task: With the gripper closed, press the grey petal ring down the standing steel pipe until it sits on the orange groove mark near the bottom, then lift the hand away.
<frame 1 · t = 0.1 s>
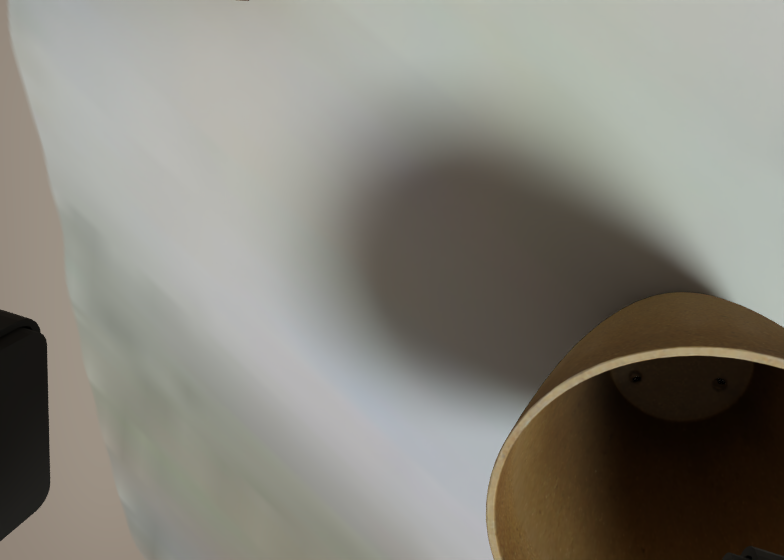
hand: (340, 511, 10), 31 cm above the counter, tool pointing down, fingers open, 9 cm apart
plant pot: (674, 351, 40), on the counter
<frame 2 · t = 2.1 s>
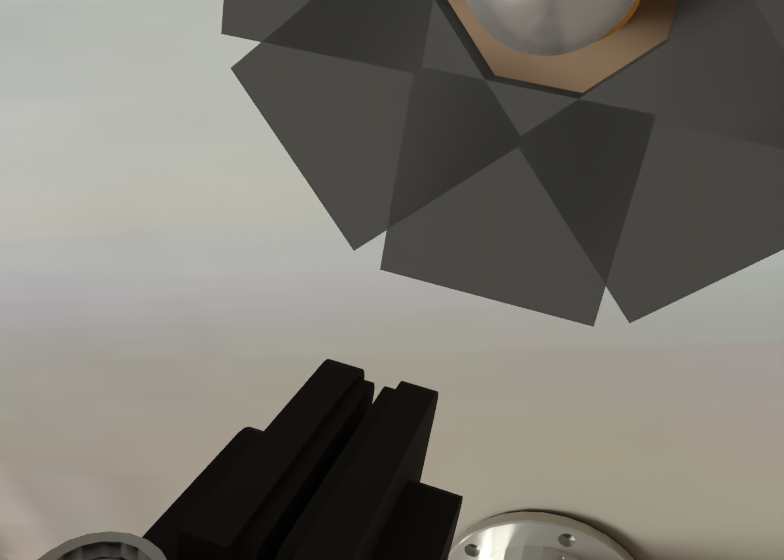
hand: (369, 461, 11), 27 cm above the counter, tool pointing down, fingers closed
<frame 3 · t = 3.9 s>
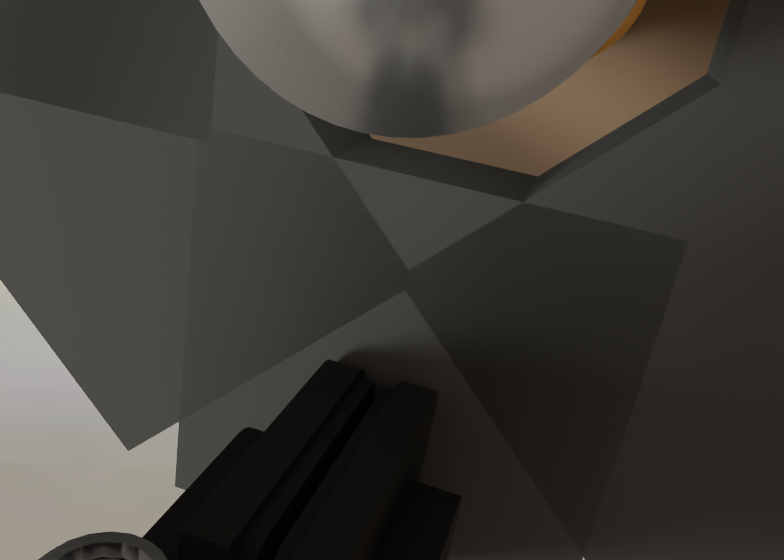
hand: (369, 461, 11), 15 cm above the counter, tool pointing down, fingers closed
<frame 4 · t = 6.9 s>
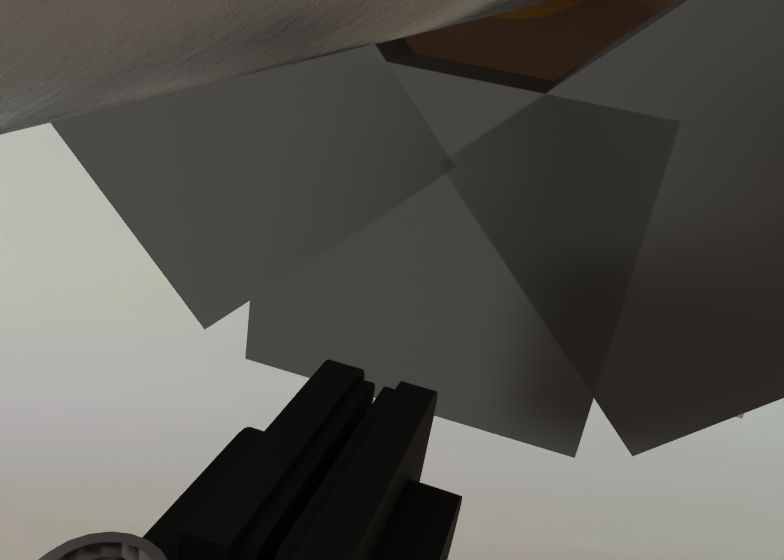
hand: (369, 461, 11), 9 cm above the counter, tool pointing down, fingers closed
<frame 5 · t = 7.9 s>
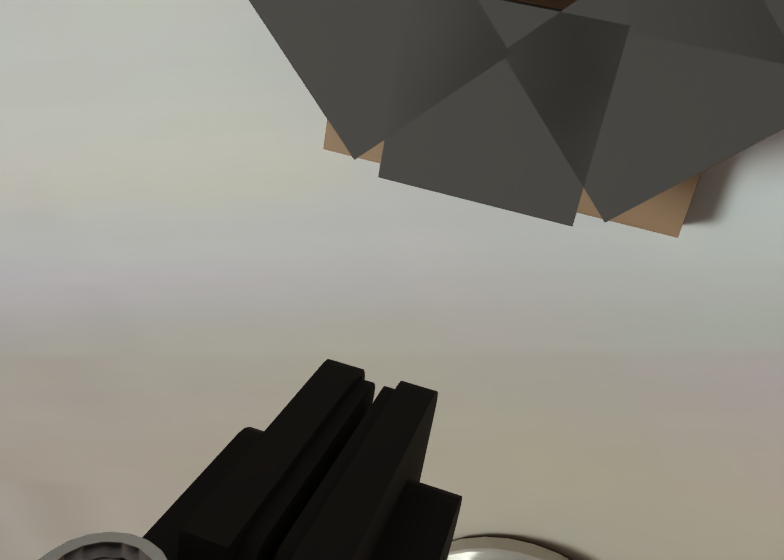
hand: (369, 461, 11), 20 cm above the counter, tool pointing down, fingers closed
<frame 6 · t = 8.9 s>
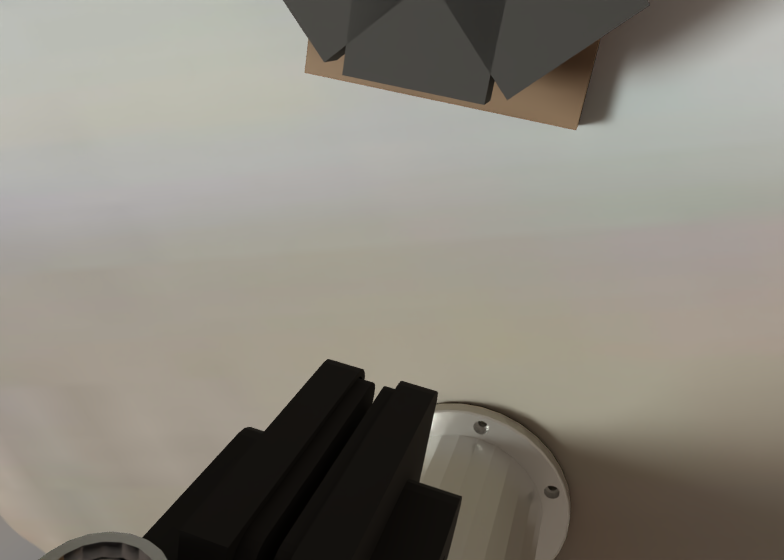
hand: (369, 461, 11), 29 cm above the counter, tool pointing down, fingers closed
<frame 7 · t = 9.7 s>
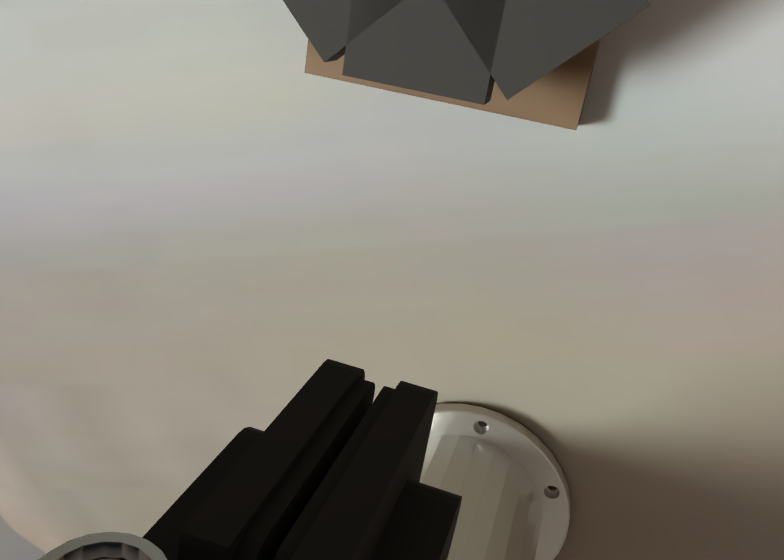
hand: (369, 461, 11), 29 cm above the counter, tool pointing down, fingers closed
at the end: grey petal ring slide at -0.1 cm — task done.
